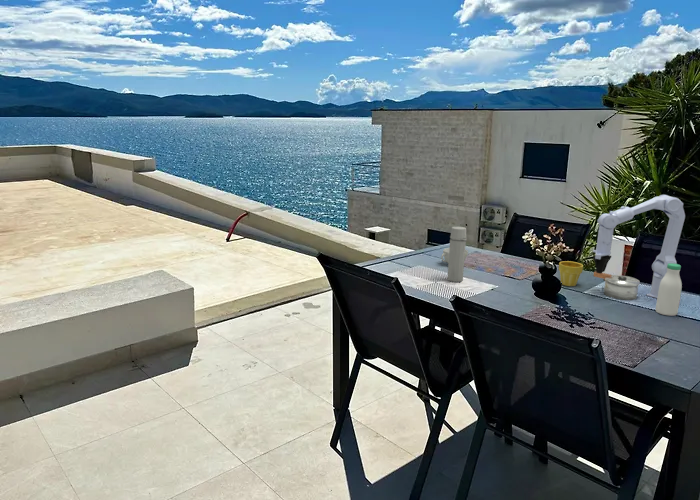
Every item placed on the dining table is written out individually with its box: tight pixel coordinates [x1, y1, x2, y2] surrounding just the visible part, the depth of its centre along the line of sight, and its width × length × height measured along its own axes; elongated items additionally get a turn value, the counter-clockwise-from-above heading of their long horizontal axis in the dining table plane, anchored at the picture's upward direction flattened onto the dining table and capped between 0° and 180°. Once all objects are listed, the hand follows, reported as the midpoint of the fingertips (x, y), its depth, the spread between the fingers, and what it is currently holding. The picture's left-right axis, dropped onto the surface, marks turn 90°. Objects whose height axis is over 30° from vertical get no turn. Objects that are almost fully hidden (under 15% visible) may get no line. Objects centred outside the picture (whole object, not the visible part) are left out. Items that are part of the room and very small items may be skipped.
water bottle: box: [447, 226, 468, 283], centre depth 252 cm, size 9×8×25 cm
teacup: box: [440, 247, 469, 264], centre depth 280 cm, size 15×12×8 cm
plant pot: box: [558, 260, 584, 287], centre depth 252 cm, size 10×10×10 cm
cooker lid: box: [593, 270, 640, 287], centre depth 239 cm, size 19×14×2 cm
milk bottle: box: [655, 263, 683, 317], centre depth 215 cm, size 8×8×20 cm
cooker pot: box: [603, 279, 639, 301], centre depth 241 cm, size 18×13×6 cm
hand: (600, 272), depth 238 cm, fingers open, 3 cm apart
